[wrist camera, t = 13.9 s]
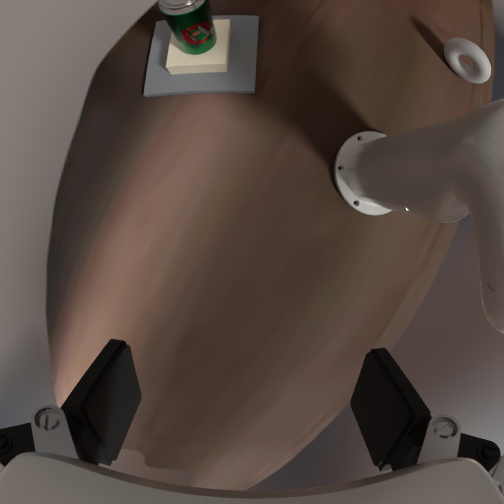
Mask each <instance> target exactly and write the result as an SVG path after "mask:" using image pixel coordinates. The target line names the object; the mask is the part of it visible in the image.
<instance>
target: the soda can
mask: <svg viewBox="0 0 504 504" xmlns="http://www.w3.org/2000/svg"><path fill="white" fill-rule="evenodd" d="M159 9H160V11H161V13H162V15H163V17H164V18H165V20H166V22H167V24H168V26H169V28H170V29H171V31H172V33H173V35H174V37H175V39H176V40H177V42H178V44H179V46H180V48H181V49H182V51H184V52H185V53H187V54H191V55H199V54H203V53H205V52H207V51H209V50H210V49H212V48H213V47H214V45H215V44H216V41H217V35H216V30H215V26H214V21H213V17H212V13H211V8H210V4H209V0H160V1H159Z"/></svg>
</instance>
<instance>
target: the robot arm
mask: <svg viewBox="0 0 504 504" xmlns="http://www.w3.org/2000/svg"><path fill="white" fill-rule="evenodd" d="M357 137H358V138H359V140H358V139H357ZM338 167H341V169H340V170H339V169H338ZM334 177H335V182H336V185H337V188H338V190H339V192H340V194H341V196H342V197H343V199H344V200H345V201H346V202H347V203H348V204H349V205H350V206H351V207H352V208H354V209H355V210H357V211H359V212H361V213H364V214H368V215H383V214H386V213H388V212H390V211H392V210H395V211H399V212H403V213H407V214H410V215H414V216H418V217H421V218H425V219H428V220H432V221H435V222H441V223H449V222H454V221H457V220H459V219H461V218H463V217H464V216H466V215H467V214H468V213H470V214H471V218H472V221H473V227H474V232H475V237H476V241H477V249H478V258H479V268H480V282H481V295H482V304H483V308H484V311H485V314H486V316H487V318H488V320H489V322H490V323H491V324H492V325H493V326H494V327H495V328H496V329H497V330H499V331H500V332H502V333H504V99H501V100H498V101H495V102H492V103H489V104H487V105H485V106H483V107H480V108H478V109H476V110H474V111H472V112H470V113H467V114H465V115H463V116H460V117H457V118H455V119H452V120H449V121H445V122H442V123H438V124H434V125H430V126H426V127H422V128H417V129H413V130H409V131H405V132H401V133H397V134H393V135H389V136H386V135H384V134H382V133H379V132H374V131H365V132H360V133H357V134H355V135H353V136H351V137H350V138H348V139H347V140H346V141H345V142H344V143H343V144H342V146H341V147H340V149H339V151H338V153H337V155H336V159H335V164H334ZM354 201H355V202H356V204H354ZM140 401H141V391H140V387H139V383H138V379H137V375H136V371H135V367H134V362H133V358H132V353H131V349H130V346H129V345H127V344H126V342H125V341H122V340H116V339H111V340H110V341H109V342H108V343H107V344H106V346H105V347H104V348H103V350H102V351H101V352H100V354H99V355H98V356H97V358H96V359H95V360H94V362H93V363H92V364H91V366H90V367H89V368H88V370H87V371H86V372H85V374H84V375H83V377H82V378H81V379H80V381H79V382H78V384H77V385H76V386H75V388H74V389H73V391H72V392H71V393H70V395H69V396H68V398H67V399H66V401H65V402H64V404H63V405H62V406H61V408H59V407H57V406H55V405H43V406H40V407H39V408H37V409H36V410H35V411H34V412H33V414H32V416H31V422H30V423H26V424H22V425H18V426H13V427H8V428H4V429H0V504H504V455H503V456H502V457H501V455H500V449H499V447H498V446H497V445H496V444H495V443H494V442H492V441H489V440H485V439H481V438H477V437H474V436H470V435H467V434H463V433H461V426H460V424H459V422H458V421H457V420H456V419H455V418H454V417H452V416H449V415H445V414H440V415H436V416H434V417H433V418H432V417H431V415H430V413H431V412H430V410H429V409H428V408H427V406H426V405H425V403H424V402H423V400H422V399H421V397H420V396H419V394H418V393H417V392H416V390H415V389H414V387H413V386H412V384H411V383H410V381H409V380H408V379H407V377H406V376H405V374H404V373H403V371H402V370H401V369H400V367H399V366H398V365H397V363H396V362H395V360H394V359H393V358H392V356H391V355H390V354H389V352H388V351H387V349H385V348H378V349H372V350H371V351H370V352H369V353H367V354H366V356H365V360H364V363H363V366H362V369H361V372H360V375H359V378H358V381H357V384H356V387H355V390H354V392H353V395H352V398H351V408H352V411H353V413H354V415H355V418H356V420H357V423H358V425H359V428H360V430H361V433H362V435H363V438H364V440H365V443H366V446H367V448H368V451H369V453H370V456H371V458H372V461H373V463H374V465H375V466H378V468H379V470H380V472H381V471H384V470H388V469H391V468H392V470H393V471H392V472H389V473H385V474H382V475H377V476H373V477H369V478H364V479H360V480H355V481H350V482H346V483H340V484H334V485H327V486H321V487H312V488H303V489H291V490H276V491H275V490H274V491H235V490H218V489H206V488H197V487H189V486H182V485H175V484H169V483H164V482H159V481H154V480H149V479H145V478H140V477H136V476H132V475H128V474H124V473H121V472H117V471H114V470H110V469H107V468H104V467H101V466H98V465H99V463H102V464H105V465H108V466H110V465H111V463H112V460H114V461H115V460H116V459H117V457H118V455H119V452H120V450H121V447H122V445H123V442H124V440H125V437H126V435H127V432H128V430H129V427H130V425H131V423H132V420H133V418H134V415H135V413H136V411H137V408H138V406H139V403H140Z"/></svg>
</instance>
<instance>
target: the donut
mask: <svg viewBox="0 0 504 504" xmlns="http://www.w3.org/2000/svg"><path fill="white" fill-rule="evenodd" d="M461 54H462V55H466V56H468V57H469V58H471V60H472V61H473V62H474V64H475V66H474V67H472V66H469V65H467V64H465V63H464V62H463V61H462V59H461V58H460V55H461ZM444 55H445V58H446V61H447V63H448V64H449V66H450V67H451V68H452V70H454V71H455V72H456V73H457V74H458V75H459V76H461V77H462V78H463V79H465V80H467V81H469V82H473V83H483V82H485V81H487V80H488V78H489V77H490V75H491V66H490V63H489V60H488V58H487V56H486V55H485V53H484V52H483V51H482V50H481V49H480V48H479V47H478V46H477V45H476V44H474V43H473V42H471V41H469V40H466V39H464V38H452V39H449V40H448V41H447V42H446V43H445V47H444Z"/></svg>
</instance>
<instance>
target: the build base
mask: <svg viewBox="0 0 504 504" xmlns="http://www.w3.org/2000/svg"><path fill="white" fill-rule="evenodd" d="M212 17H213V21H214V26H215V30H216V35H217V41H216V44H215V45H214V47H213V48H212V49H210V50H209V51H207V52H205V53H203V54H199V55H191V54H187V53H185V52H184V51H182V49H181V48H180V46H179V44H178V42H177V40H176V39H175V37H174V35H173V33H172V31H171V29H170V28H169V26H168V24H167V22H166V20H163V21H157V22H156V26H155V30H154V35H153V40H152V45H151V50H150V55H149V61H148V67H147V73H146V80H145V87H144V96H145V97H154V96H165V95H178V94H198V93H245V94H255V79H256V60H257V42H258V24H259V16H246V15H221V16H212Z"/></svg>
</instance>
